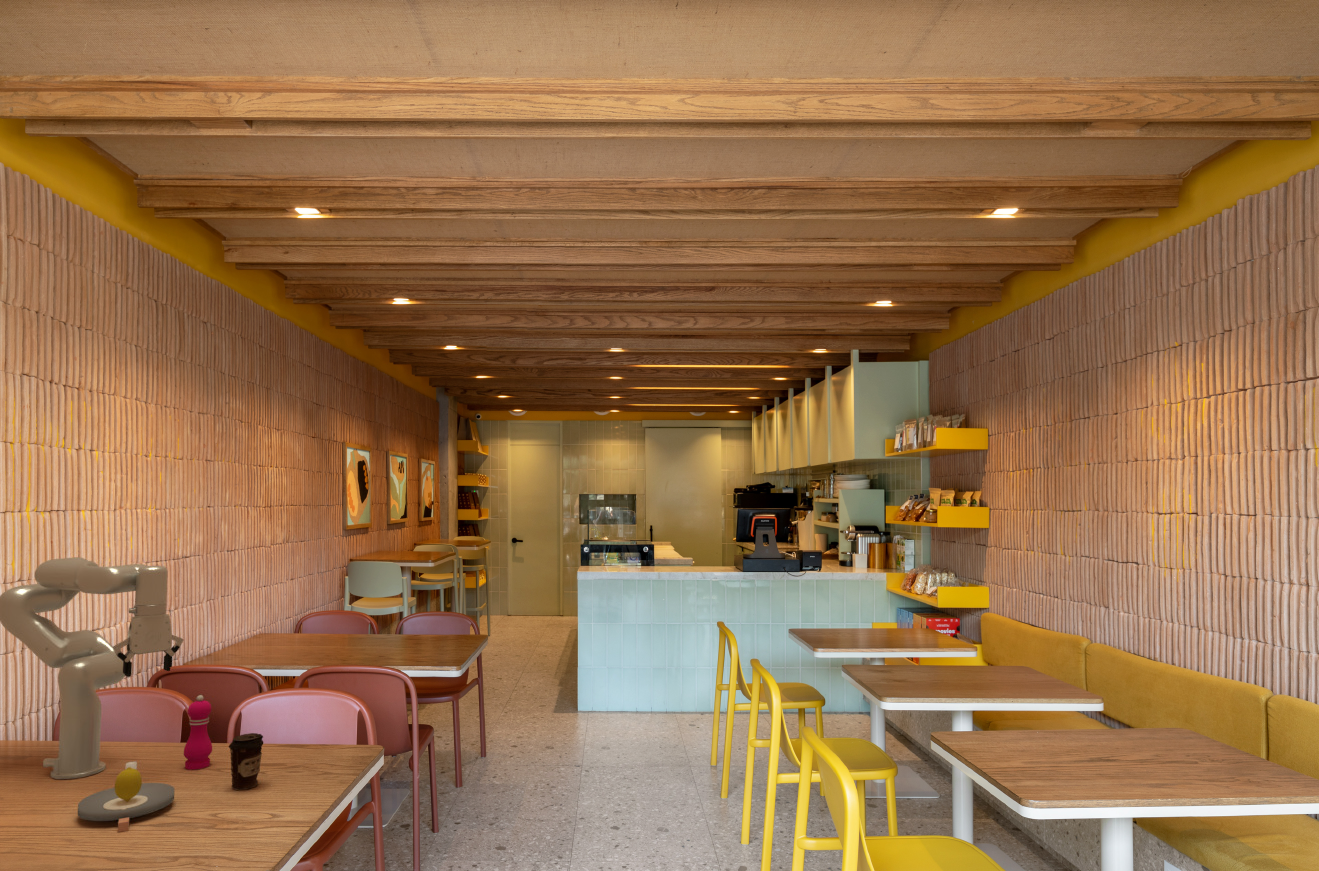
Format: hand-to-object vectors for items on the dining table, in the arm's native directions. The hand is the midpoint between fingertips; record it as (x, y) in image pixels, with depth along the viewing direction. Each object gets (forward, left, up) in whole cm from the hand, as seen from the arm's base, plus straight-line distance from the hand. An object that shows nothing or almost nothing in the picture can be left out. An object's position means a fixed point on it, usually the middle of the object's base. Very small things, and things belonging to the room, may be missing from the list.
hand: (147, 673), depth 230 cm
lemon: (+9, -30, -25) cm, 40 cm away
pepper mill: (+11, +8, -28) cm, 32 cm away
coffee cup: (+30, -12, -28) cm, 43 cm away
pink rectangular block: (+11, -38, -28) cm, 48 cm away
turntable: (+7, -26, -27) cm, 38 cm away
